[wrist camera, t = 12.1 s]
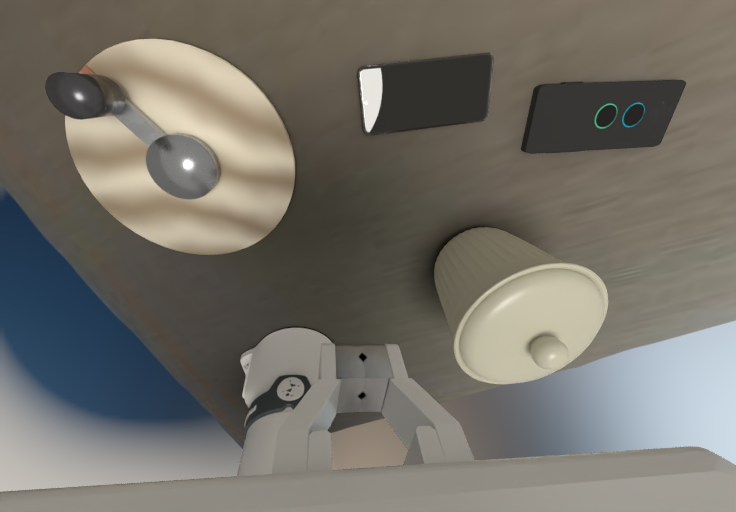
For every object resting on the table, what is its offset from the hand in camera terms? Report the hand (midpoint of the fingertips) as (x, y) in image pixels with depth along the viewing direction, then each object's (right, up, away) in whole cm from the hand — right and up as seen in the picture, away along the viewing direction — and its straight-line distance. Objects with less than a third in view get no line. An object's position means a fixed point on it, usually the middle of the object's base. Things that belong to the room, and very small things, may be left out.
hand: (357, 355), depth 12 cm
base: (-21, +15, +24) cm, 35 cm away
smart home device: (+31, +23, +29) cm, 48 cm away
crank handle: (-23, +17, +21) cm, 35 cm away
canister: (+17, +3, +37) cm, 41 cm away
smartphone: (+7, +23, +25) cm, 35 cm away
